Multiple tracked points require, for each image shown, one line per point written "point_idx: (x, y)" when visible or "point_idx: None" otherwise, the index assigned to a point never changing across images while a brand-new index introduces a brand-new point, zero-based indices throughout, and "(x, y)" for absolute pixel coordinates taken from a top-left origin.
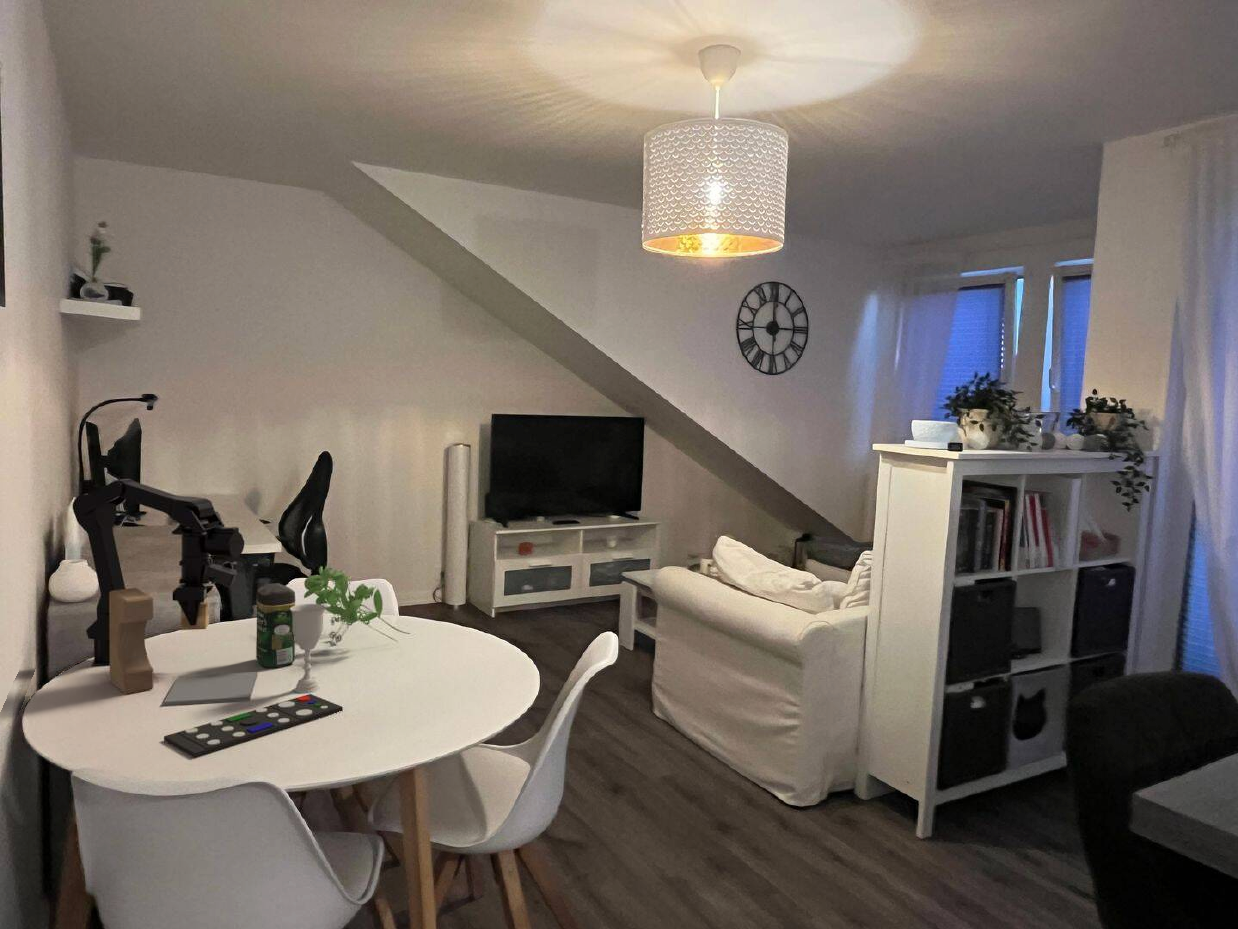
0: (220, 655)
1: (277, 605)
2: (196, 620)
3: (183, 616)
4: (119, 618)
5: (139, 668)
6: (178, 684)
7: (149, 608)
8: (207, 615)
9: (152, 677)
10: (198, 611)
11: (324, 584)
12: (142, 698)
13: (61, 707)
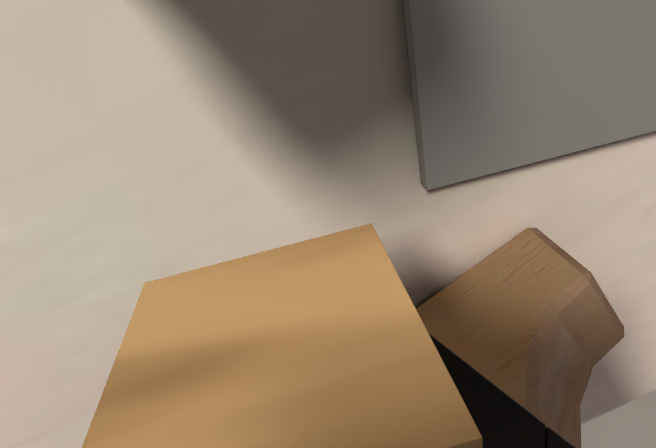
0: (6, 149)
1: None
2: (444, 349)
3: None
4: None
5: (602, 314)
6: (543, 143)
7: None
8: (252, 337)
9: (561, 251)
10: (488, 437)
11: None
12: (613, 214)
13: (618, 368)
